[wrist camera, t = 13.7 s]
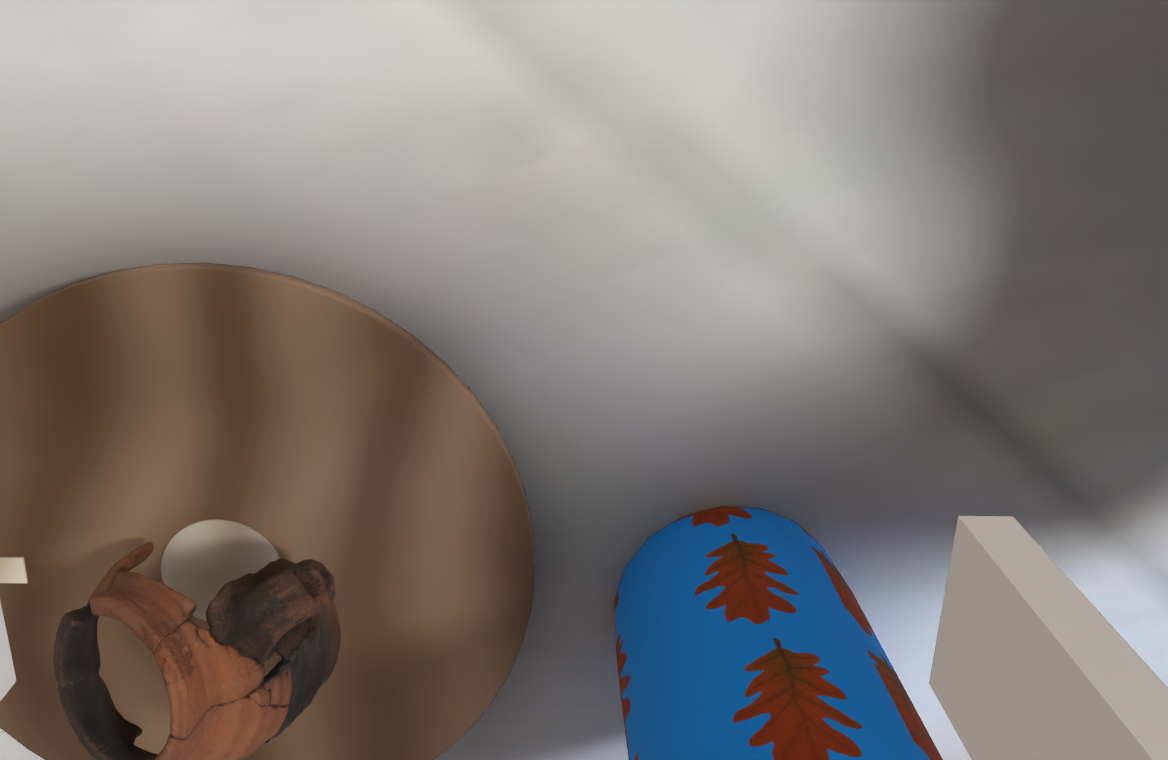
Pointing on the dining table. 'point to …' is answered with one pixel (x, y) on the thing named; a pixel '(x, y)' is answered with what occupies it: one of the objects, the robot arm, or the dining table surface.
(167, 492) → the disc
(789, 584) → the thermos
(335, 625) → the pottery mug
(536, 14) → the dining table surface
